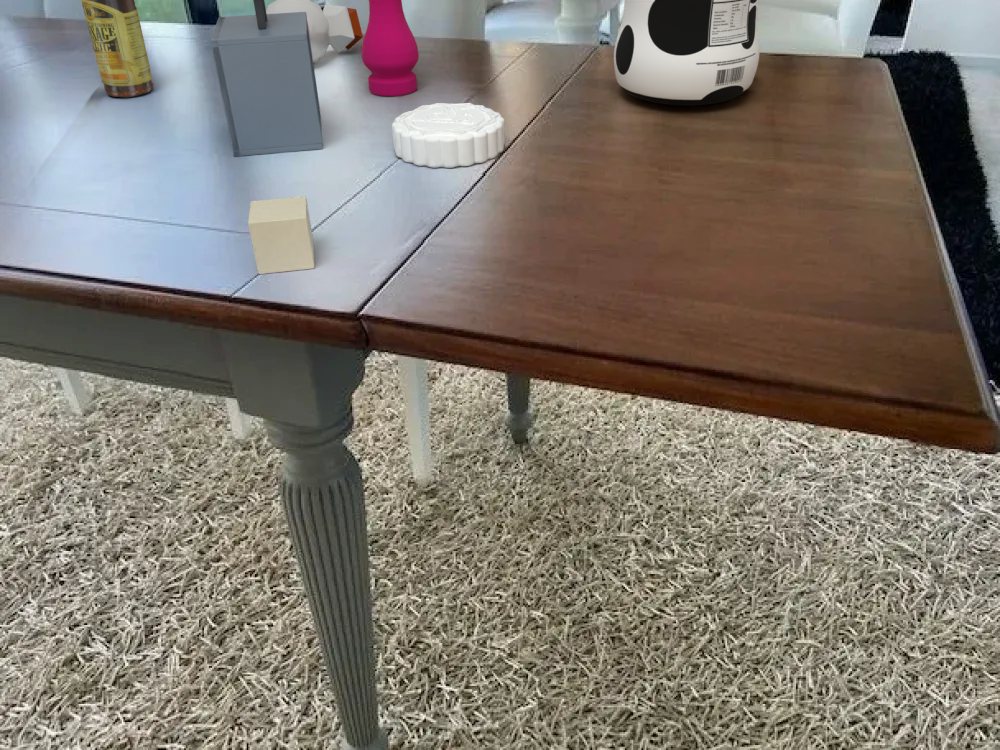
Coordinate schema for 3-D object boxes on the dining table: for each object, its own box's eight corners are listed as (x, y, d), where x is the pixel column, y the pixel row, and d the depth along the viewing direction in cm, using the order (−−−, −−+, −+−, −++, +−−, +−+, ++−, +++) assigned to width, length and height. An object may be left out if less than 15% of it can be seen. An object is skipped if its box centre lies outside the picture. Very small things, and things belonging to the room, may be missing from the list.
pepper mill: (376, 81, 115) (358, -87, 103) (427, 83, 113) (416, -87, 102) (357, 96, 109) (337, -80, 98) (412, 99, 108) (397, -80, 96)
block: (258, 274, 69) (247, 223, 67) (260, 250, 73) (250, 201, 70) (314, 268, 70) (306, 217, 67) (313, 245, 73) (306, 195, 71)
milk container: (636, 70, 116) (645, -78, 106) (765, 83, 110) (789, -74, 100) (592, 107, 103) (598, -58, 93) (736, 123, 97) (759, -52, 87)
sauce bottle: (96, 95, 112) (47, -74, 101) (136, 83, 117) (94, -81, 105) (126, 102, 109) (79, -71, 98) (166, 90, 113) (126, -78, 102)
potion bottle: (267, 83, 120) (342, 71, 131) (304, 47, 113) (380, 37, 124) (236, 22, 119) (314, 15, 130) (271, -18, 112) (351, -22, 123)
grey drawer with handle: (199, -13, 82) (298, -19, 84) (209, -32, 91) (299, -37, 93) (233, 156, 92) (323, 149, 93) (239, 124, 101) (321, 118, 102)
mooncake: (516, 134, 96) (515, 101, 94) (489, 172, 86) (487, 138, 84) (415, 127, 98) (412, 96, 96) (377, 164, 89) (374, 130, 87)
